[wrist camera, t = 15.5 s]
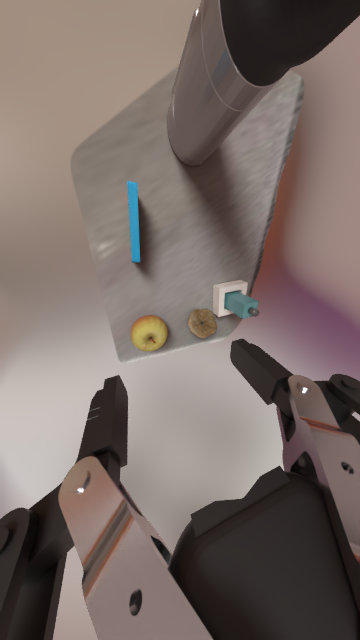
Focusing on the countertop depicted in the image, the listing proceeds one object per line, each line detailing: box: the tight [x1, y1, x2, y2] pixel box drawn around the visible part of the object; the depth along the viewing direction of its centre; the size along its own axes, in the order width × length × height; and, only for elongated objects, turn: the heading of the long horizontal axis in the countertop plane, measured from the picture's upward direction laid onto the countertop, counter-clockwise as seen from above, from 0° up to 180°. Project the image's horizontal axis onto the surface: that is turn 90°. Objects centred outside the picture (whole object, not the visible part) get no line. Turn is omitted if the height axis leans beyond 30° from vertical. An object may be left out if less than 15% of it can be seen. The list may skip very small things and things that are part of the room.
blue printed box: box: [127, 181, 140, 263], centre depth 28 cm, size 12×2×6 cm, turn 175°
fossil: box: [188, 309, 217, 338], centre depth 44 cm, size 9×4×10 cm
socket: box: [213, 280, 248, 317], centre depth 44 cm, size 9×9×4 cm
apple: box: [131, 315, 168, 351], centre depth 39 cm, size 10×10×8 cm
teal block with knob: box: [224, 291, 259, 319], centre depth 40 cm, size 4×4×13 cm
